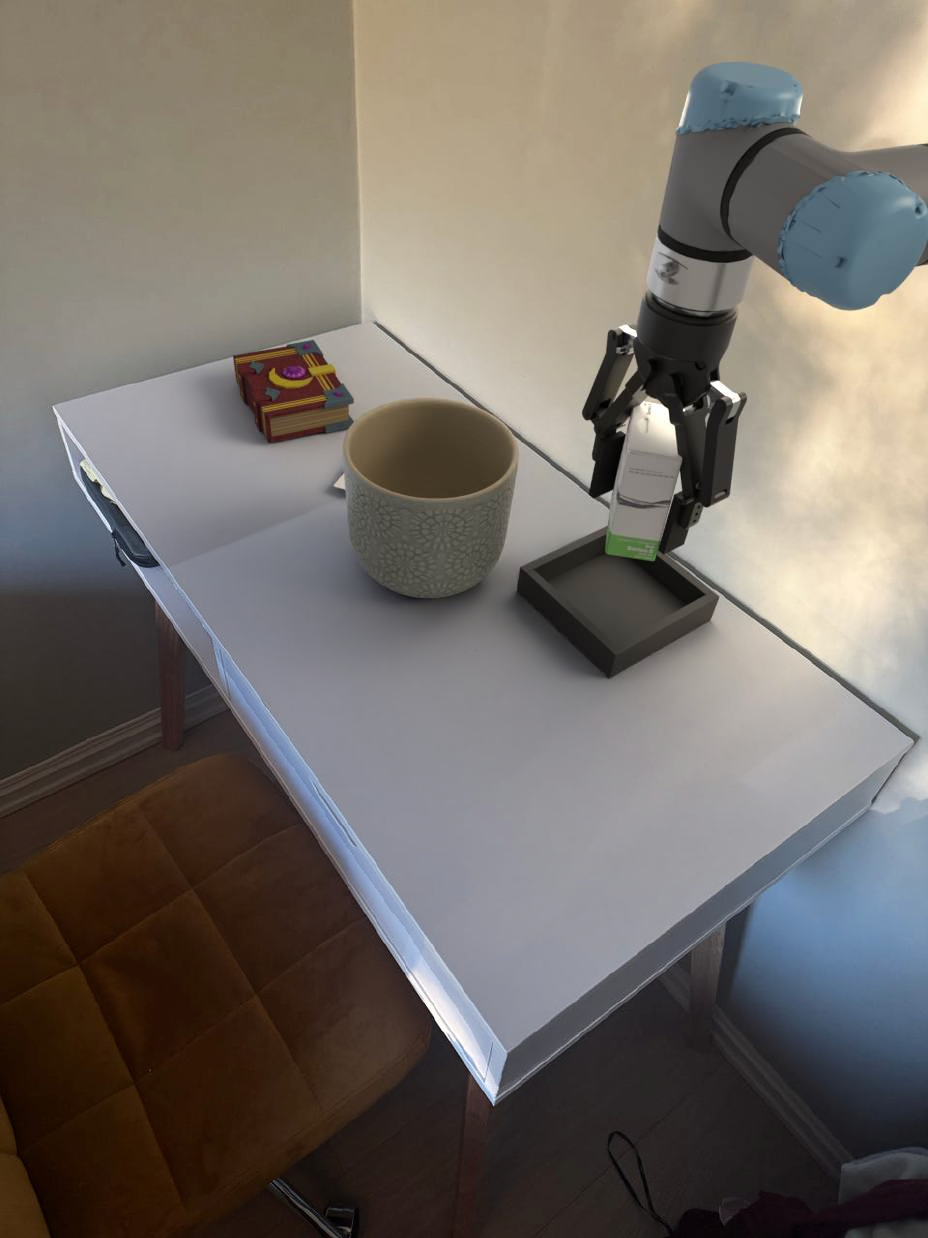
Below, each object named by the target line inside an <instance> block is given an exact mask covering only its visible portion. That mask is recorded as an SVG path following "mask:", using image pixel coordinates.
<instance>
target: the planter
mask: <svg viewBox="0 0 928 1238" xmlns="http://www.w3.org/2000/svg"><path fill="white" fill-rule="evenodd" d="M519 459H520V449H519V444H518V441H517V439H516V437H515V434H514V433H513V432H512V431H511V429H510V428H509V427H508V426H507V425H506V424H505V423H504V422H503V421H502V420H500V419H499V418H498V417H496V416H495V415H493V414H491V413H489V412H488V411H486V410H484V409H482V408H480V407H478V406H474V405H472V404H469V403H466V402H462V401H458V400H453V399H448V398H439V397H438V398H437V397H414V398H404V399H399V400H394V401H390V402H386V403H384V404H381V405H378V406H376V407H373V408H372V409H370V410H368V411H366V412H365V413H363V414H361V415H360V416H358V417H357V418H356V419H355V421H354V423H353V424H352V425H351V426H350V427H349V428H347V430H346V431H345V435H344V437H343V441H342V465H343V466H342V467H343V474H344V480H345V490H344V491H345V497H346V498H345V500H346V512H347V524H348V531H349V537H350V544H351V547H352V550H353V553H354V555H355V557H356V559H357V561H358V563H359V565H360V566H361V568H362V569H363V570H364V571H365V572H366V573H367V575H368V576H370V577H371V578H372V579H373V580H374V581H375V582H377V583H378V584H379V585H381V586H383V587H384V588H387V589H388V590H391V591H393V592H395V593H397V594H400V595H404V596H407V597H412V598H418V599H439V598H446V597H451V596H455V595H457V594H461V593H463V592H465V591H467V590H469V589H471V588H473V587H475V586H477V585H478V584H479V583H481V582H482V581H483V579H485V578H486V577H487V576H489V574H490V573H491V572H492V570H493V569H494V568H495V566H496V565H497V562H498V561H499V559H500V557H501V554H502V552H503V549H504V546H505V542H506V539H507V534H508V528H509V521H510V516H511V511H512V510H511V509H512V505H513V499H514V493H515V487H516V482H517V474H518V468H519V461H520V460H519Z"/></svg>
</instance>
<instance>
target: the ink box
mask: <svg viewBox="0 0 928 1238" xmlns="http://www.w3.org/2000/svg"><path fill="white" fill-rule="evenodd" d="M685 410H686V409H685V408H683V411H685ZM627 423H628V424H627V427H626V432H625V434H626V436H625V440H624V445H623V449H622V453H621V457H620V462H619V466H618V470H617V475H616V479H615V484H614V488H613V490H612V492H611V497H610V502H609V507H608V508H609V510H608V519H607V526H608V527H607V537H606V547H605V553H607V554H609V555H616V556H622V557H629V558H635V559H642V560H648V561H654V560H655V557H656V554H657V551H658V548H659V545H660V541H661V538H662V534H663V531H664V527H665V524H666V520H667V517H668V514H669V510H670V507H671V503H672V500H673V496H674V494H675V493H674V492H675V489H676V485H677V482H678V479H679V478H678V477H679V476H680V467H681V464H682V457H681V456H680V455H678V451H677V443H676V434H675V427H674V425H672V424H671V423H670V421H669V412H668V409H667V408H666V407H664V406H663V405H662V404H660V403H654V402H649V401H645V400H644V401H643V402H642V403H641V405H639V406H636V407H634V408H633V409H632V411H631V415H630V417H629V418H628V422H627Z"/></svg>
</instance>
